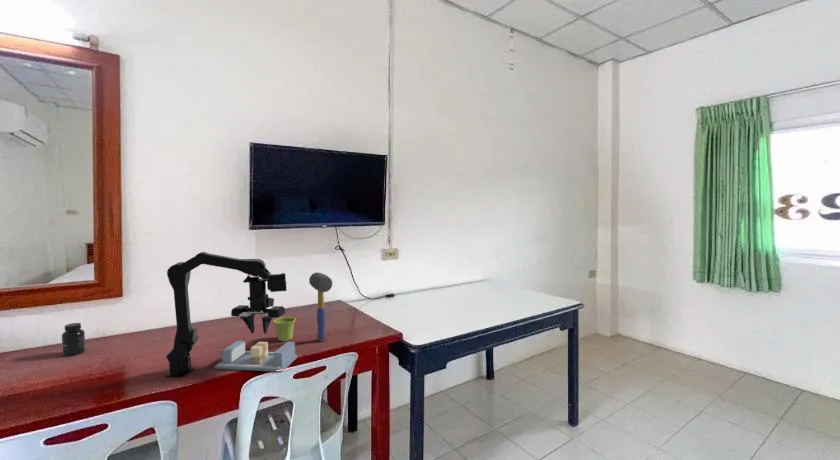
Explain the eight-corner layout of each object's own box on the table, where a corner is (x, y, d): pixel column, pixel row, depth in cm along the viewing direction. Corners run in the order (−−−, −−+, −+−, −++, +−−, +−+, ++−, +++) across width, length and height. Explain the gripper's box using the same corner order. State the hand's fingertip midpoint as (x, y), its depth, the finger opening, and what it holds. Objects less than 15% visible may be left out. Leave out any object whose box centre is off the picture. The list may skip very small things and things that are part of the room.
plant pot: (274, 336, 170) (273, 318, 169) (295, 334, 173) (295, 315, 173) (273, 344, 161) (273, 324, 161) (296, 341, 165) (296, 322, 164)
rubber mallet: (309, 337, 169) (307, 272, 167) (325, 334, 173) (324, 270, 171) (318, 346, 158) (316, 276, 156) (334, 342, 163) (333, 274, 160)
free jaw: (231, 364, 138) (230, 351, 138) (222, 363, 139) (221, 350, 138) (246, 353, 148) (245, 341, 148) (238, 352, 148) (237, 340, 148)
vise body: (282, 371, 135) (281, 354, 134) (214, 368, 137) (213, 351, 137) (297, 357, 148) (297, 341, 147) (235, 354, 150) (235, 338, 150)
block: (260, 363, 139) (259, 348, 139) (251, 363, 140) (250, 347, 139) (268, 357, 145) (267, 342, 145) (259, 356, 145) (259, 341, 145)
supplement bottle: (58, 357, 147) (56, 328, 146) (69, 351, 154) (67, 322, 153) (79, 355, 149) (77, 326, 148) (89, 349, 156) (87, 321, 155)
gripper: (291, 288, 147) (292, 327, 149) (246, 287, 149) (247, 325, 151) (277, 295, 136) (278, 337, 138) (229, 294, 138) (231, 335, 139)
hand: (259, 333), depth 142 cm, fingers open, 5 cm apart
